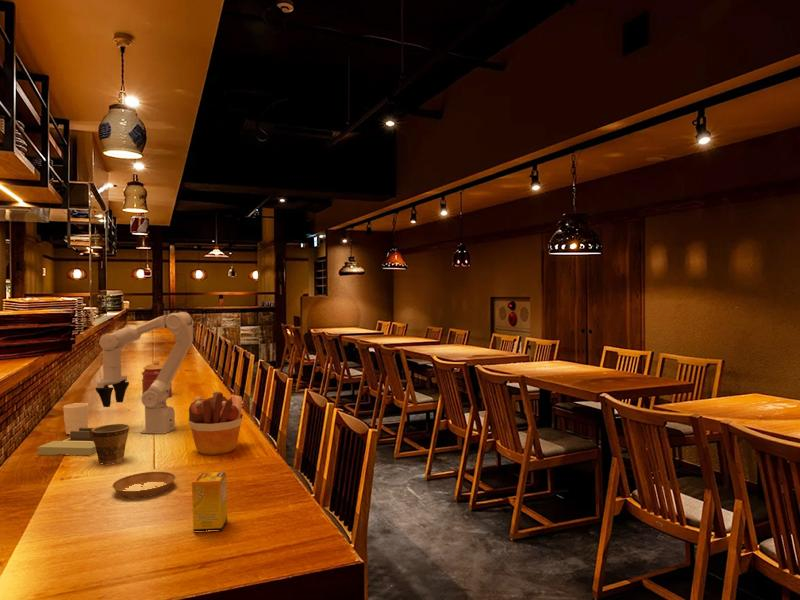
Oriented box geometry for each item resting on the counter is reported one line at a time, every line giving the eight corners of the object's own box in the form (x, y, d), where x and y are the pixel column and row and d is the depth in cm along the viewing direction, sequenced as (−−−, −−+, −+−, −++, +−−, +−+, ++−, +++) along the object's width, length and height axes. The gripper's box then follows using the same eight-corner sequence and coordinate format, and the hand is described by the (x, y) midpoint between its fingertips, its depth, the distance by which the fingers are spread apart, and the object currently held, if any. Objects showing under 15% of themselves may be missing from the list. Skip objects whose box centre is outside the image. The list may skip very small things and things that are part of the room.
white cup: (78, 436, 198) (77, 407, 198) (58, 435, 200) (57, 407, 199) (94, 430, 206) (93, 403, 206) (75, 429, 207) (74, 402, 207)
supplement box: (200, 521, 124) (198, 472, 124) (227, 520, 125) (226, 471, 125) (192, 533, 118) (191, 481, 118) (221, 532, 119) (220, 480, 119)
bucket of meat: (188, 445, 184) (186, 385, 183) (240, 439, 190) (238, 380, 190) (191, 463, 166) (189, 395, 165) (248, 456, 172) (247, 390, 171)
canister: (165, 399, 260) (164, 361, 260) (137, 400, 261) (136, 361, 260) (176, 394, 273) (175, 357, 273) (150, 394, 274) (149, 358, 273)
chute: (103, 444, 188) (102, 428, 188) (93, 448, 183) (92, 431, 183) (81, 443, 189) (80, 427, 189) (70, 448, 184) (70, 431, 184)
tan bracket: (117, 444, 187) (117, 436, 187) (91, 456, 174) (91, 447, 174) (67, 443, 189) (66, 435, 189) (37, 454, 176) (37, 446, 176)
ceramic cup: (137, 457, 172) (136, 425, 172) (110, 467, 162) (109, 433, 162) (104, 454, 176) (103, 422, 176) (76, 463, 167) (75, 430, 166)
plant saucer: (131, 480, 152) (131, 471, 152) (185, 480, 152) (185, 470, 152) (100, 501, 138) (100, 491, 137) (159, 501, 137) (159, 491, 137)
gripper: (114, 363, 210) (115, 400, 211) (88, 369, 196) (89, 408, 196) (132, 363, 209) (133, 400, 210) (107, 369, 195) (108, 409, 195)
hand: (113, 404), depth 203 cm, fingers open, 7 cm apart
